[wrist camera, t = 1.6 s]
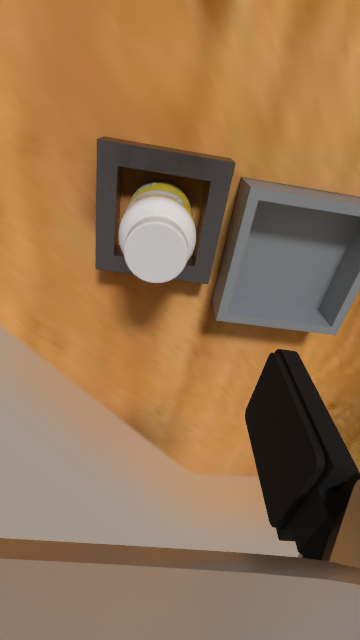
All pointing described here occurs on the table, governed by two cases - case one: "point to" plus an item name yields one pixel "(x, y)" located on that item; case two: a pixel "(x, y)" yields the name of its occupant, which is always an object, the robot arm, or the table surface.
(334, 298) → the tray
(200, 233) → the socket collar
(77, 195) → the table surface
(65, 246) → the table surface
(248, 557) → the robot arm
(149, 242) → the supplement bottle
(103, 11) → the table surface
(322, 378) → the table surface
